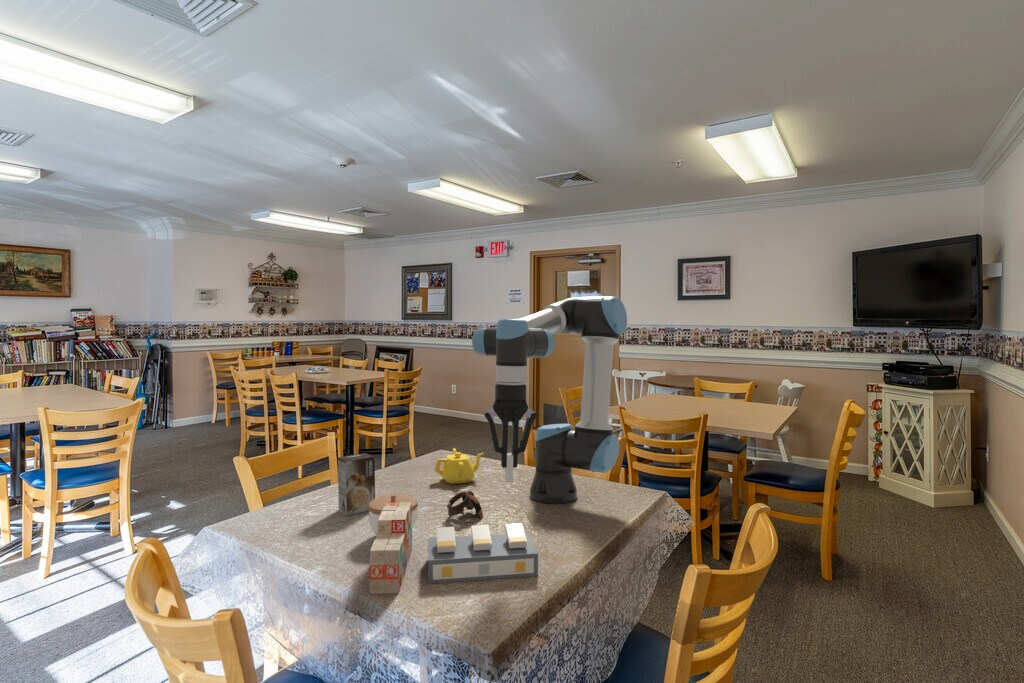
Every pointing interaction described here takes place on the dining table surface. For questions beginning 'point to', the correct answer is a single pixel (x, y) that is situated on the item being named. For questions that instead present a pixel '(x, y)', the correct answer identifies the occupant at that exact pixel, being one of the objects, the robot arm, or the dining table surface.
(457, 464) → the teapot
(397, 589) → the stack of blocks
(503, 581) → the dining table surface
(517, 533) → the small box
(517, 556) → the switch box
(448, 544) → the rocker
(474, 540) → the rocker
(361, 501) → the coffee box
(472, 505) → the brown curved piece
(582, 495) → the dining table surface
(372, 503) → the lidded bowl
